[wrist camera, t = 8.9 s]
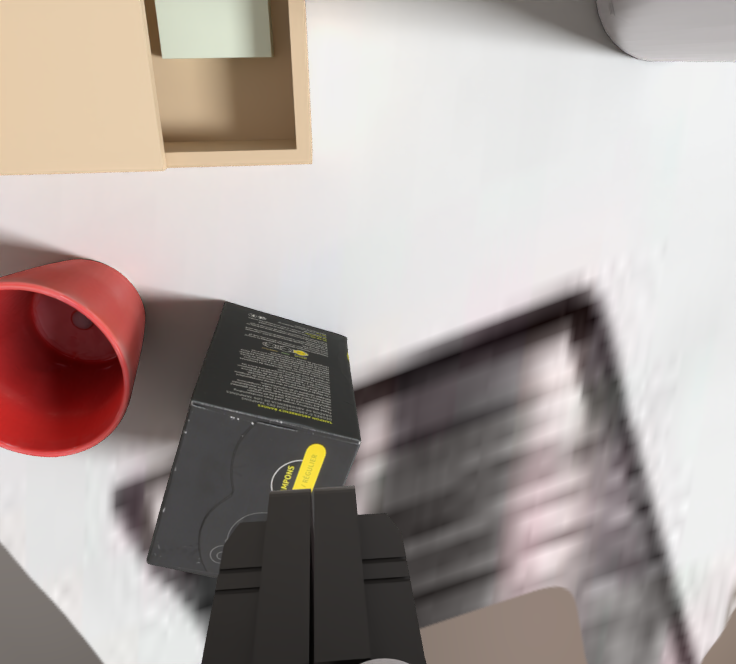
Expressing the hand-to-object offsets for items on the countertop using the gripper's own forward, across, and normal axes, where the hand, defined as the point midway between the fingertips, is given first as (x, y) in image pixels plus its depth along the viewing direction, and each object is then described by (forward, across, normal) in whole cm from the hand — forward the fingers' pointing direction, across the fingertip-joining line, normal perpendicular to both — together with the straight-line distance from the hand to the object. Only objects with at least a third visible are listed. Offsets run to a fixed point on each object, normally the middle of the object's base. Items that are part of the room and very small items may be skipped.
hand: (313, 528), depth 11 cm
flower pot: (+33, +16, +8) cm, 38 cm away
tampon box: (+33, +4, +14) cm, 36 cm away
